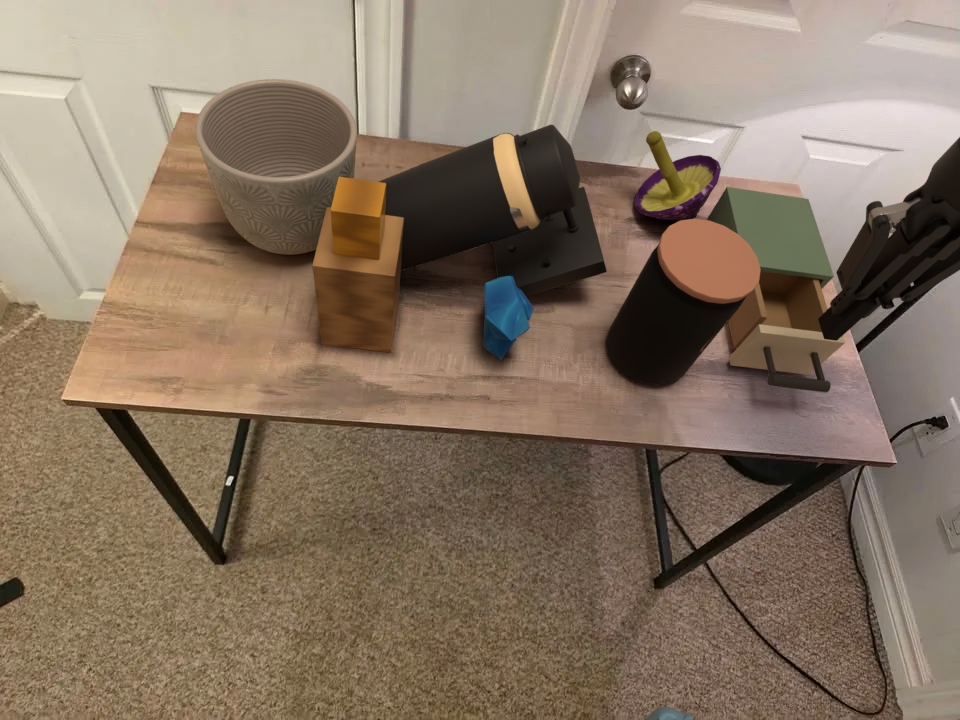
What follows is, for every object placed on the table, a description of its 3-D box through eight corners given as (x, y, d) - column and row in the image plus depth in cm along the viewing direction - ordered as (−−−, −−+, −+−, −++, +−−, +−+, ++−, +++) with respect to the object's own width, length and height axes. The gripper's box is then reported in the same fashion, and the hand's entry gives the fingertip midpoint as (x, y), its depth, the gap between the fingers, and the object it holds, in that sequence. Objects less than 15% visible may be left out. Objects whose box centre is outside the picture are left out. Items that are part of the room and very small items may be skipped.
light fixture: (346, 165, 76) (553, 85, 69) (411, 257, 90) (588, 198, 83) (343, 244, 69) (573, 163, 62) (413, 331, 82) (607, 272, 76)
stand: (399, 298, 78) (404, 217, 66) (391, 352, 74) (395, 276, 62) (333, 290, 77) (326, 206, 66) (321, 344, 73) (312, 265, 61)
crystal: (543, 266, 76) (561, 333, 68) (512, 318, 82) (525, 386, 73) (486, 249, 74) (499, 316, 65) (458, 303, 79) (466, 372, 71)
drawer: (818, 411, 77) (857, 381, 71) (737, 402, 76) (769, 371, 70) (787, 296, 87) (819, 261, 80) (715, 287, 86) (741, 250, 79)
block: (385, 227, 65) (386, 182, 60) (379, 260, 63) (380, 217, 58) (341, 221, 65) (338, 176, 60) (333, 254, 62) (330, 210, 57)
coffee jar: (687, 398, 76) (765, 309, 61) (601, 378, 76) (658, 284, 61) (686, 327, 82) (757, 231, 67) (607, 309, 82) (660, 208, 67)
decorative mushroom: (696, 137, 77) (736, 230, 85) (698, 89, 85) (734, 178, 93) (603, 176, 84) (648, 258, 92) (612, 128, 92) (653, 208, 100)
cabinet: (793, 319, 86) (834, 276, 78) (711, 308, 85) (745, 264, 77) (772, 244, 93) (808, 198, 85) (697, 233, 92) (726, 186, 84)
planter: (237, 172, 85) (214, 69, 73) (364, 186, 87) (364, 88, 75) (208, 269, 76) (176, 170, 64) (351, 282, 78) (348, 189, 66)
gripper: (1063, 137, 52) (872, 309, 72) (918, 112, 51) (764, 295, 70) (1109, 202, 48) (893, 365, 68) (951, 176, 47) (778, 351, 66)
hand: (827, 329), depth 69 cm, fingers closed
